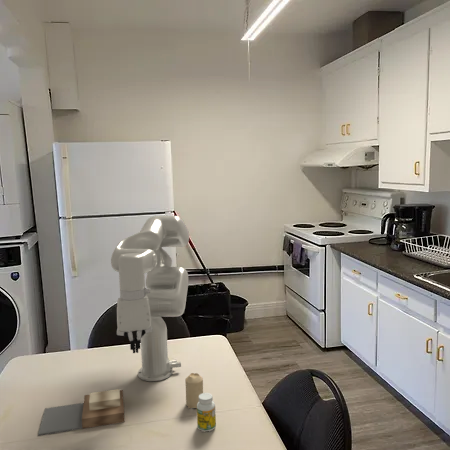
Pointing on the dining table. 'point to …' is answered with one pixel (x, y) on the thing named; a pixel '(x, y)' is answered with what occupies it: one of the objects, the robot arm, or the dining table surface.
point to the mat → (61, 419)
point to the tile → (104, 399)
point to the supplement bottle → (206, 412)
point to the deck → (102, 414)
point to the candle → (193, 389)
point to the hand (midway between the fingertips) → (135, 351)
